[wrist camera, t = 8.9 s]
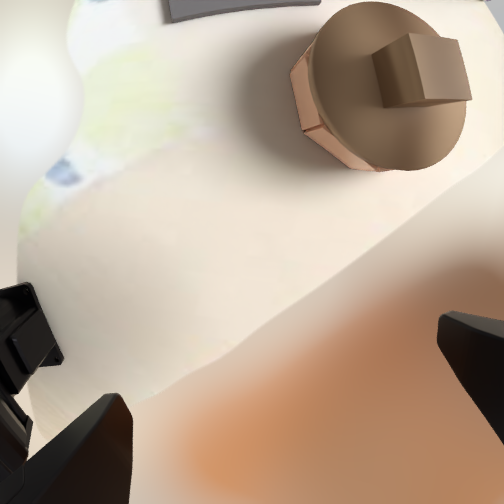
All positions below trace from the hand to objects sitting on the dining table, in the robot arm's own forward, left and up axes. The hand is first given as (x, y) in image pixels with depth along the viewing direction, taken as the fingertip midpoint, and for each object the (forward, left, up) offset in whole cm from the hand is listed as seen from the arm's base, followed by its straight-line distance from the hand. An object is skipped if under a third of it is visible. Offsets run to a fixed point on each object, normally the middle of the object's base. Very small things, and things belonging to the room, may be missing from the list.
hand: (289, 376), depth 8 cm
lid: (+9, +8, -8) cm, 15 cm away
